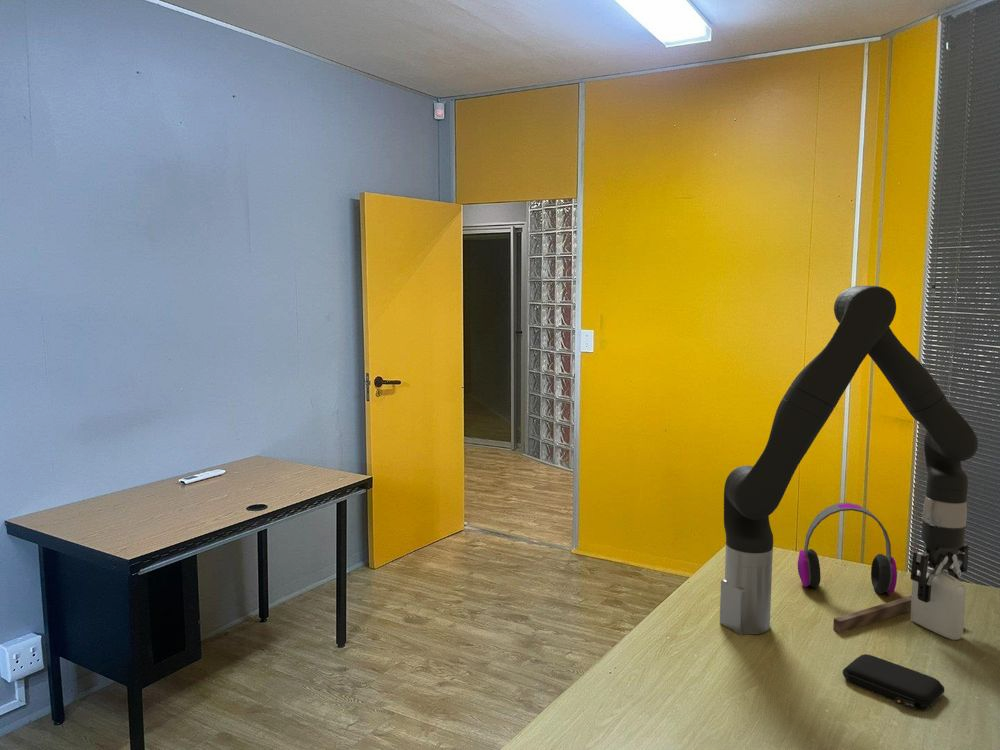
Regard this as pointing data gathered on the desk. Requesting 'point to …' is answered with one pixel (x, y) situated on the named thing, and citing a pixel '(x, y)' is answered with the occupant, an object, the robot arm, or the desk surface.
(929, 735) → the desk surface
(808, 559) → the headphones
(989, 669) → the desk surface
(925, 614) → the photo printer
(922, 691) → the carrying case or bag
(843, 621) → the brown l-shaped block
